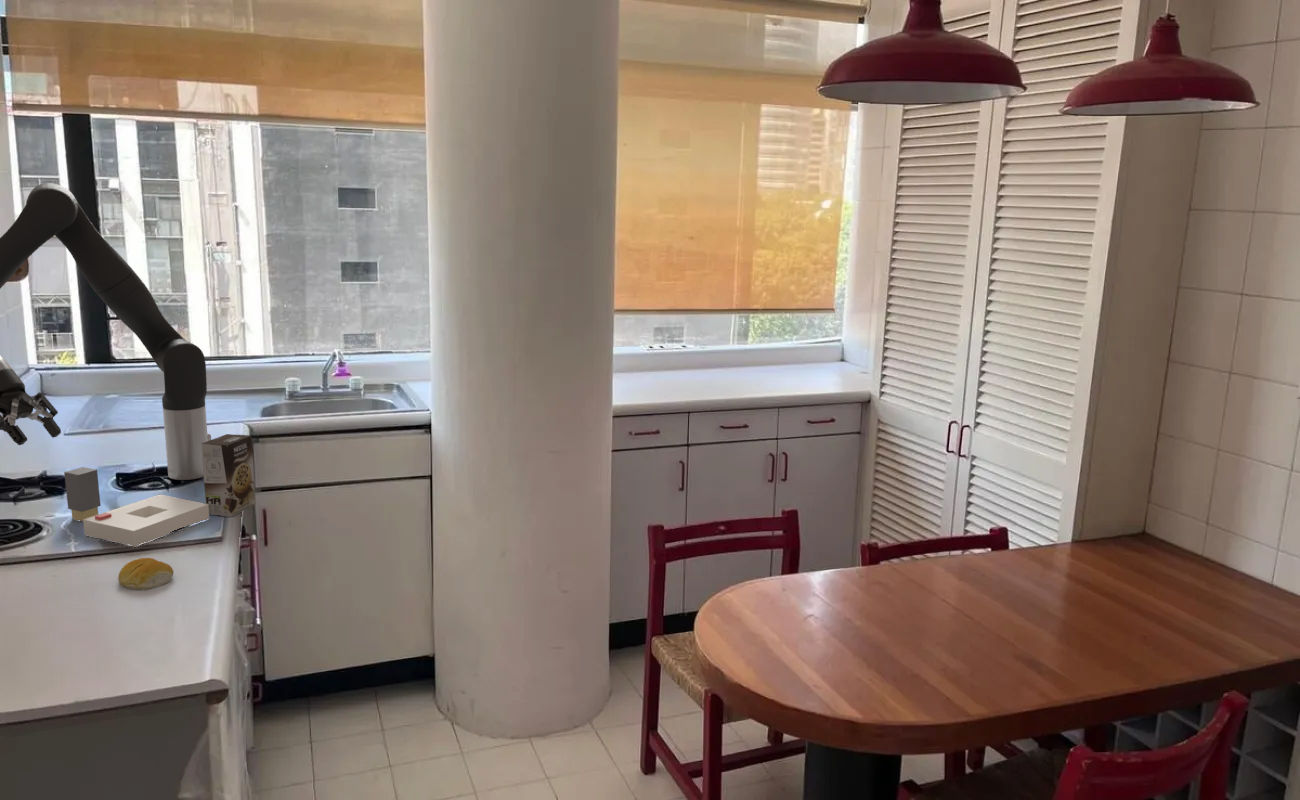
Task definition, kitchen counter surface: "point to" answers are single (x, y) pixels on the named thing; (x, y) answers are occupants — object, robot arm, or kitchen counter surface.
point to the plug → (82, 492)
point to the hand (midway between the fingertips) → (40, 438)
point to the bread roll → (144, 574)
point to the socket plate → (145, 519)
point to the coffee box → (228, 474)
